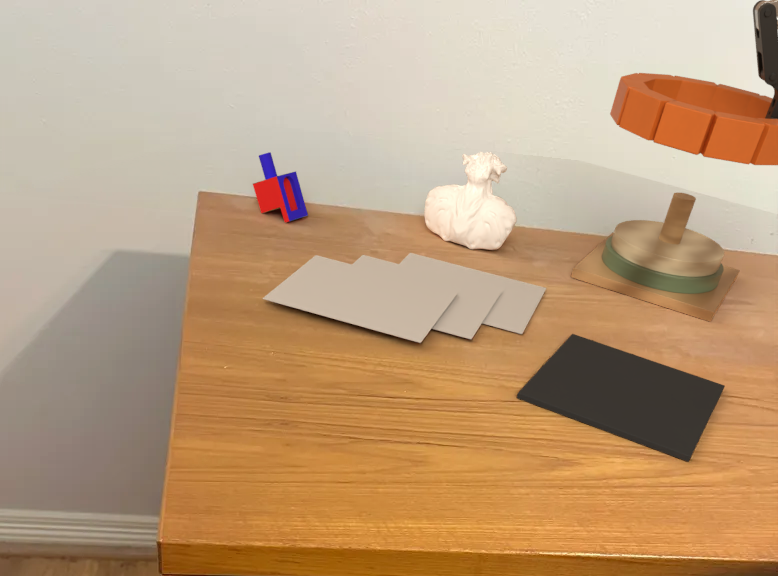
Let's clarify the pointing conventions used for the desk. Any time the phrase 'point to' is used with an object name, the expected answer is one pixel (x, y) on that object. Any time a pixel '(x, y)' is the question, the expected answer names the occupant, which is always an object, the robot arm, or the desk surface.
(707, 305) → the ring stack
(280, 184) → the toy building block
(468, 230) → the bust
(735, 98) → the orange ring
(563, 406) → the mat
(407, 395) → the desk surface
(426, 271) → the paper stack
